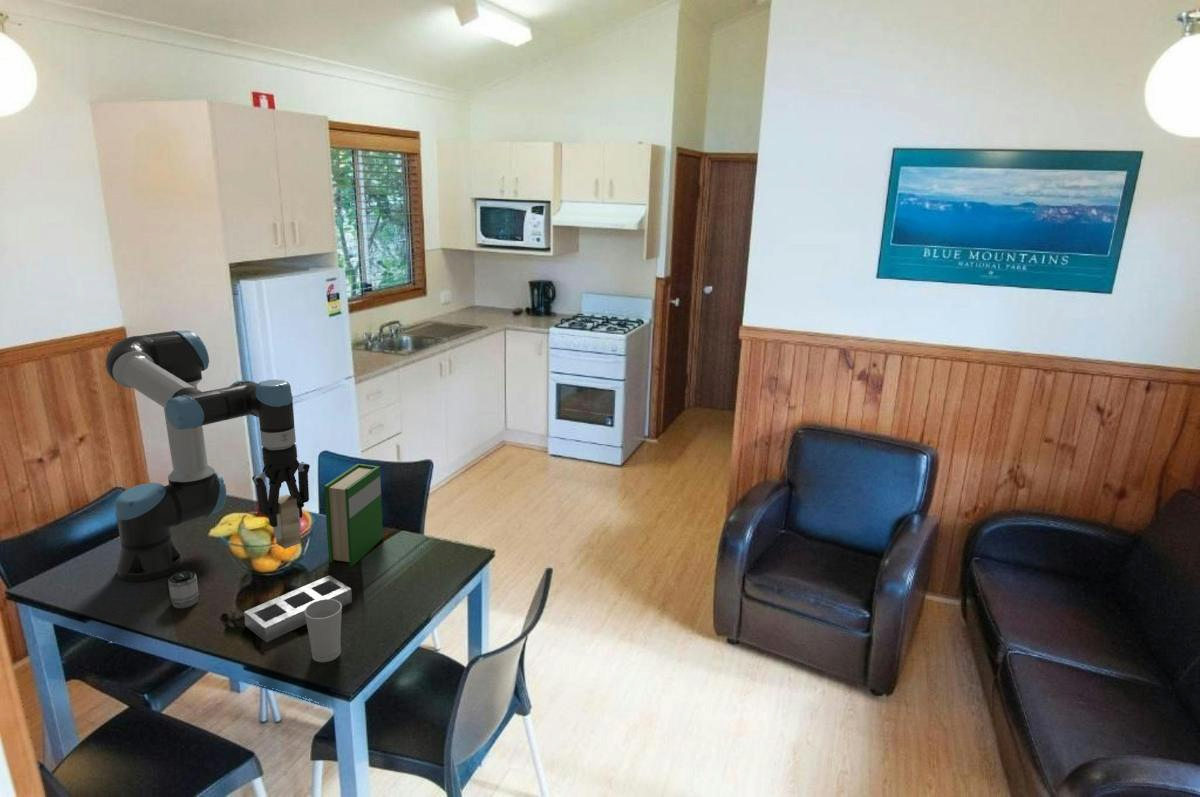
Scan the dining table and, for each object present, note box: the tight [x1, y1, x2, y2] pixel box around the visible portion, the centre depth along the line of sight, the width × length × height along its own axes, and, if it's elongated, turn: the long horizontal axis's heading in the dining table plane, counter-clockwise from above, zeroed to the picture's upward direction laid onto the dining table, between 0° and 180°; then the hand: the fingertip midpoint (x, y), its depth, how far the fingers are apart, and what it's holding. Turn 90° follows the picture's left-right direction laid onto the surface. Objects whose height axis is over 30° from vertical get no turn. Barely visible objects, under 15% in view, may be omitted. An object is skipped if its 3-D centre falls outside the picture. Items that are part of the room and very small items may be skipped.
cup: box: [305, 599, 343, 663], centre depth 162 cm, size 8×8×12 cm
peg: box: [275, 494, 301, 550], centre depth 173 cm, size 4×4×12 cm
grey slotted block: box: [243, 575, 353, 643], centre depth 178 cm, size 10×23×4 cm, turn 142°
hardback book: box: [323, 463, 384, 567], centre depth 207 cm, size 18×7×24 cm, turn 168°
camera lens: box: [167, 570, 199, 609], centre depth 179 cm, size 6×6×8 cm
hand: (287, 533), depth 174 cm, fingers closed on peg, 4 cm apart
